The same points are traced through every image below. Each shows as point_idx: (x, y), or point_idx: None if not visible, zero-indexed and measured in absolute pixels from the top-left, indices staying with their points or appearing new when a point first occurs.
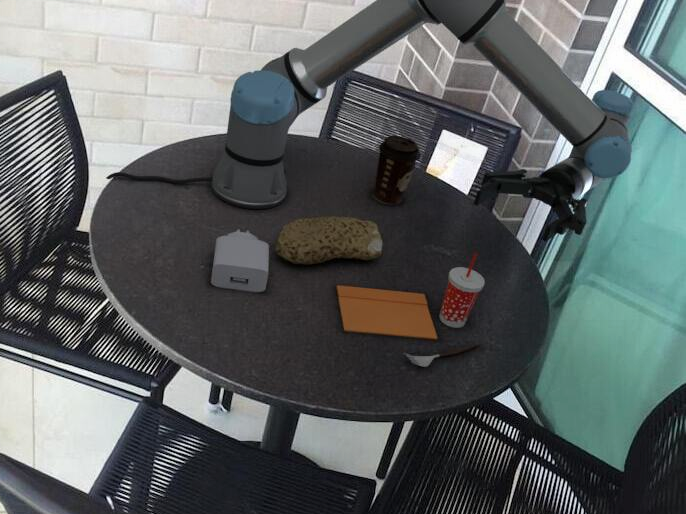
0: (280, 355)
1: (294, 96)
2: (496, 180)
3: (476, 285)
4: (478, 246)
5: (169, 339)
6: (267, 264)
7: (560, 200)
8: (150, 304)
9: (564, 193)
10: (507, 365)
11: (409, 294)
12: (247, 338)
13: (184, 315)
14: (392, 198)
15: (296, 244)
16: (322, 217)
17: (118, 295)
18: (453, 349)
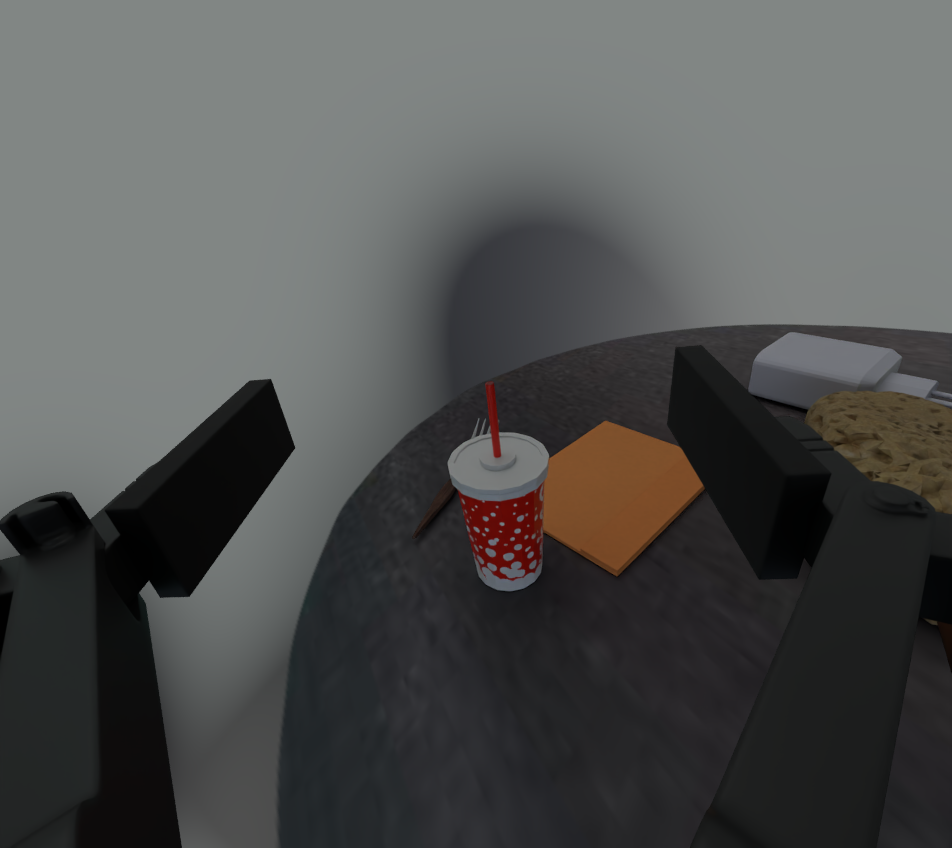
0: (606, 370)
1: None
2: (856, 499)
3: (463, 458)
4: None
5: (686, 331)
6: (781, 364)
7: (94, 768)
8: (759, 334)
9: None
10: (345, 543)
11: (633, 542)
12: (653, 362)
13: (725, 344)
14: None
15: (838, 392)
16: None
17: (786, 325)
18: (449, 489)
